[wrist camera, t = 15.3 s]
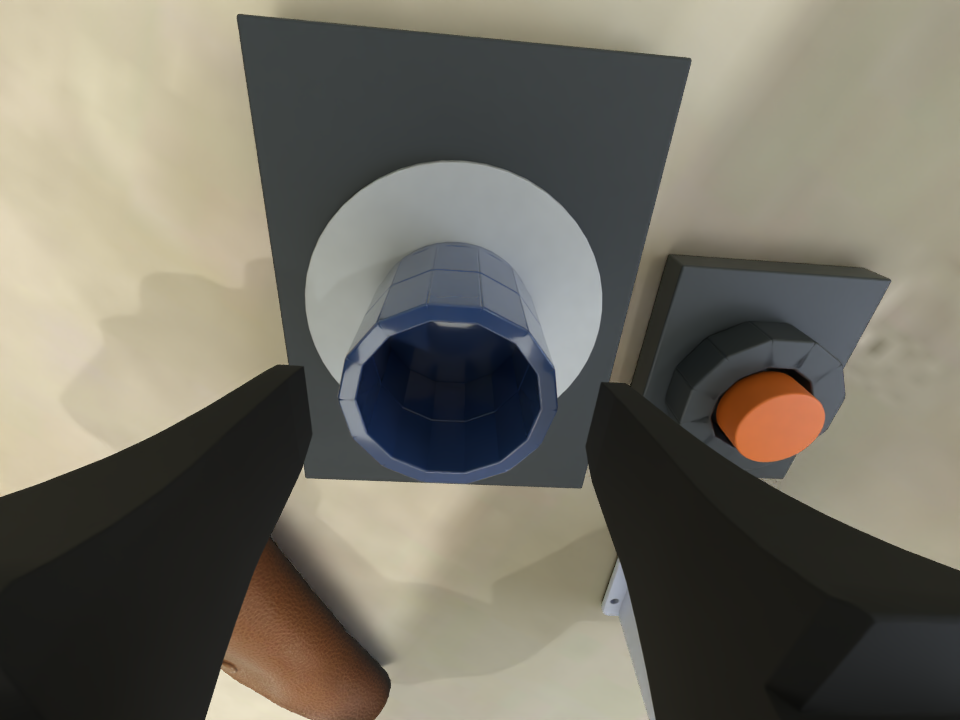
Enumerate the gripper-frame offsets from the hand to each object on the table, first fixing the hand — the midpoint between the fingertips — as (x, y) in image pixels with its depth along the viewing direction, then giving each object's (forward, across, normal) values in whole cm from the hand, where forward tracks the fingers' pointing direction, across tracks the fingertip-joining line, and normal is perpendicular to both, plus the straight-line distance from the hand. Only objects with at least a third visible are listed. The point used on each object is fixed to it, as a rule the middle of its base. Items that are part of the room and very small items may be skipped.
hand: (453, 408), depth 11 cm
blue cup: (+5, 0, 0) cm, 5 cm away
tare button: (+5, -12, +3) cm, 13 cm away
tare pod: (+8, -12, +3) cm, 15 cm away
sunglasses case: (+8, +10, +21) cm, 25 cm away
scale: (+8, 0, 0) cm, 8 cm away
